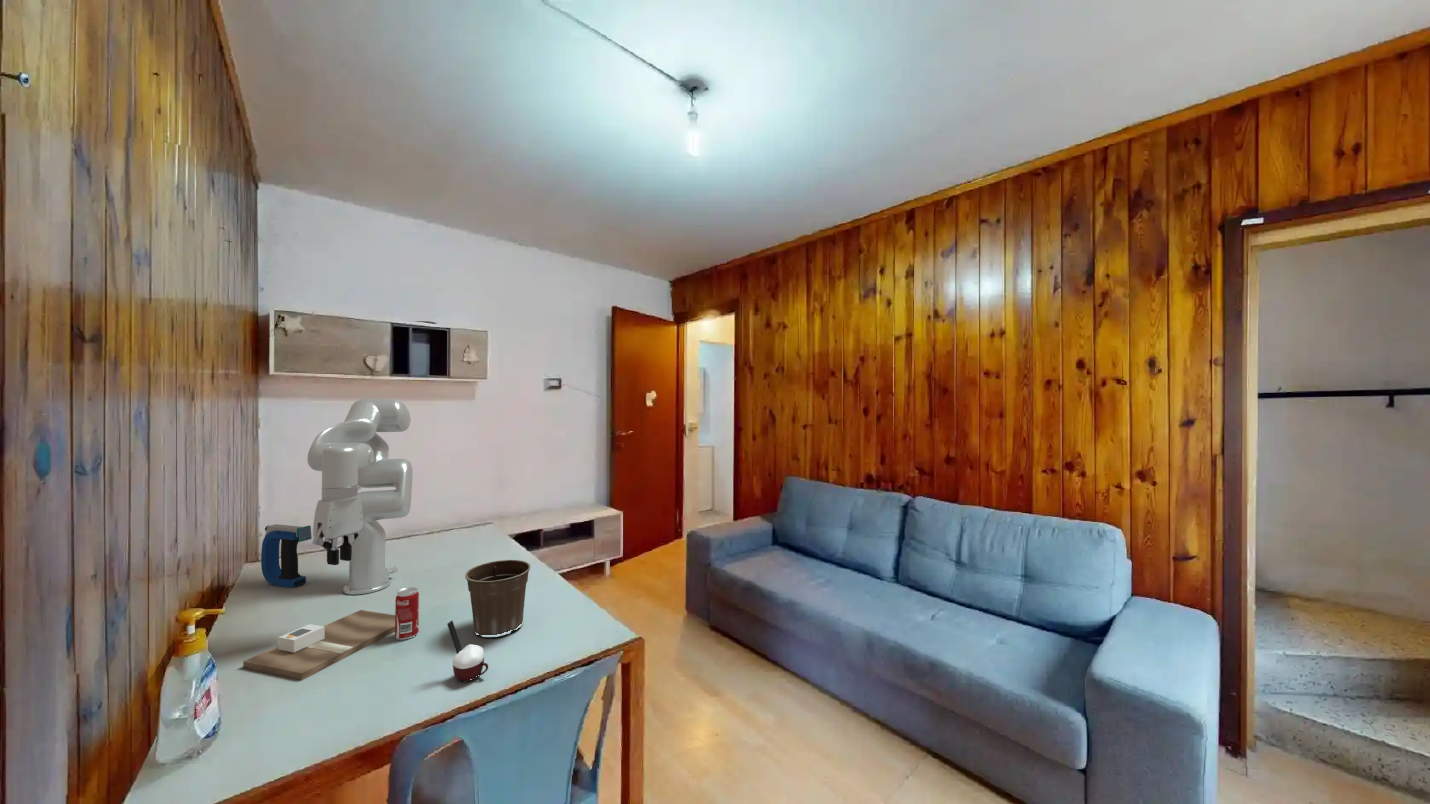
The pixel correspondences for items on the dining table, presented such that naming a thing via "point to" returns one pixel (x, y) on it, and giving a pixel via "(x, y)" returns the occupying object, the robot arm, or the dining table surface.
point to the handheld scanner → (283, 554)
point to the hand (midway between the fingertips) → (339, 561)
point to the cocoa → (466, 658)
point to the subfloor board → (326, 646)
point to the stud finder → (301, 638)
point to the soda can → (406, 613)
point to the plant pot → (497, 595)
